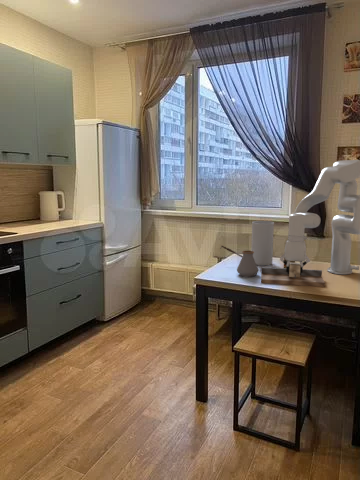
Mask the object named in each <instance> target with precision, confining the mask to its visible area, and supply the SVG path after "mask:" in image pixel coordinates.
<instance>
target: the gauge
mask: <svg viewBox="0 0 360 480" xmlns="http://www.w3.org/2000/svg"><path fill="white" fill-rule="evenodd" d="M289 267H290V269H289V277H295V279H296V277H299V278H300V262H295V263H290V264H289Z"/></svg>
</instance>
